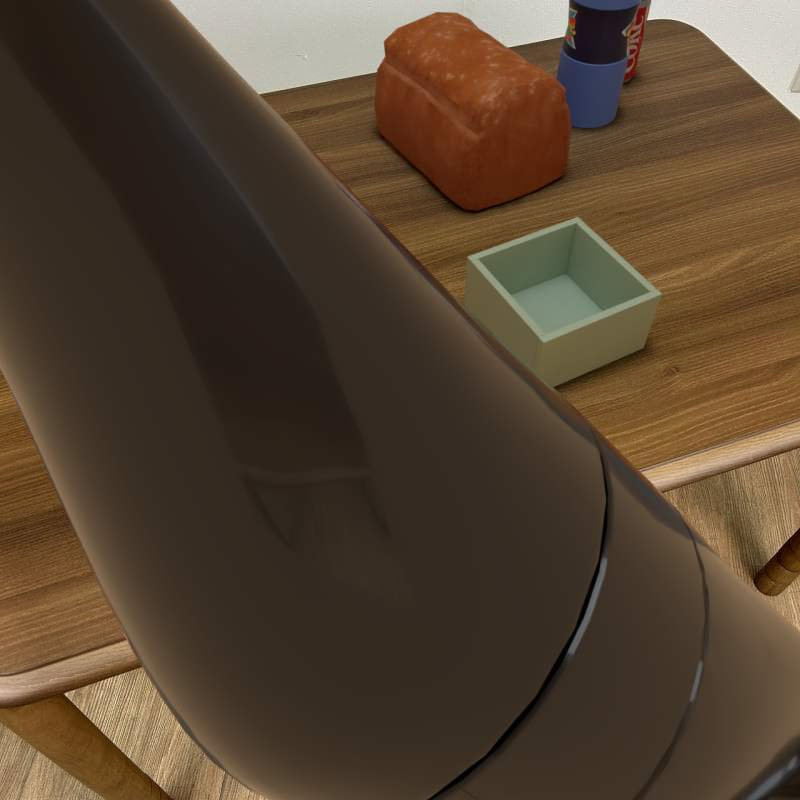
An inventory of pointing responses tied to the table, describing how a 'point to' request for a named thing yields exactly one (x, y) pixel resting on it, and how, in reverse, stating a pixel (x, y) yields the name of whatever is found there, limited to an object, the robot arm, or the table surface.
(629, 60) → the beverage can
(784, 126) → the table surface
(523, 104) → the bread
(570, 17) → the water bottle
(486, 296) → the bin
